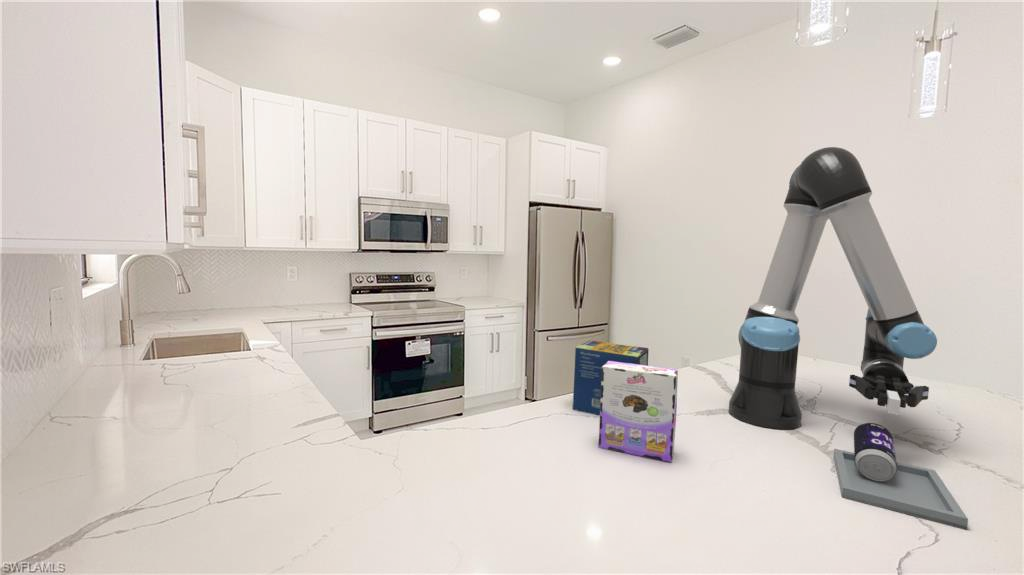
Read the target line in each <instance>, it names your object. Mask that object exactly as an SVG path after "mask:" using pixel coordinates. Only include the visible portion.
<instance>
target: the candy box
mask: <svg viewBox="0 0 1024 575" xmlns="http://www.w3.org/2000/svg"><path fill="white" fill-rule="evenodd" d="M678 379H679V369H678V368H677V369H676V368H669V367H661V366H654V365H653V366H651V365H648V366H646V365H638V364H630V363H622V362H614V361H608V362H607V363H606V364H605V365H604V366H602V375H601V399H600V415H599V428H598V444H597V447H598V448H599V449H606V450H609V451H615V452H618V453H619V452H620V453H625V454H628V455H629V454H630V455H633V456H639V457H643V458H644V457H645V458H649V459H655V460H659V461H664V462H669V463H672V461H673V457H674V452H675V439H676V438H675V436H676V423H677V405H678Z"/></svg>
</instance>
